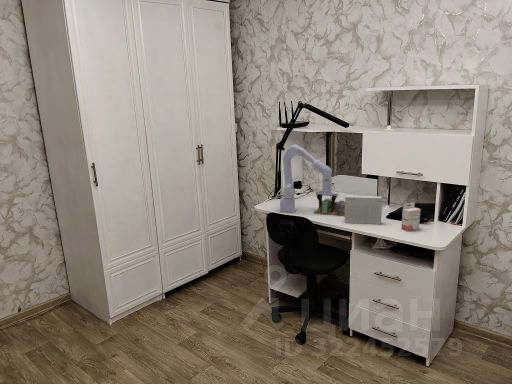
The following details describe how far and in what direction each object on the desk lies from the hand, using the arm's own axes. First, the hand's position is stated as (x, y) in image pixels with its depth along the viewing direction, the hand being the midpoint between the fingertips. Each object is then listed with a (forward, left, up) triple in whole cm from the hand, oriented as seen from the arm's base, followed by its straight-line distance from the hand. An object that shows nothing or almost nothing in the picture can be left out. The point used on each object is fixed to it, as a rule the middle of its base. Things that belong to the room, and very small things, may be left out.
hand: (326, 206), depth 260 cm
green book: (0, 0, -3) cm, 3 cm away
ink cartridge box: (+53, -16, -4) cm, 56 cm away
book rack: (+3, 0, -4) cm, 5 cm away
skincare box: (+26, -13, -4) cm, 29 cm away
